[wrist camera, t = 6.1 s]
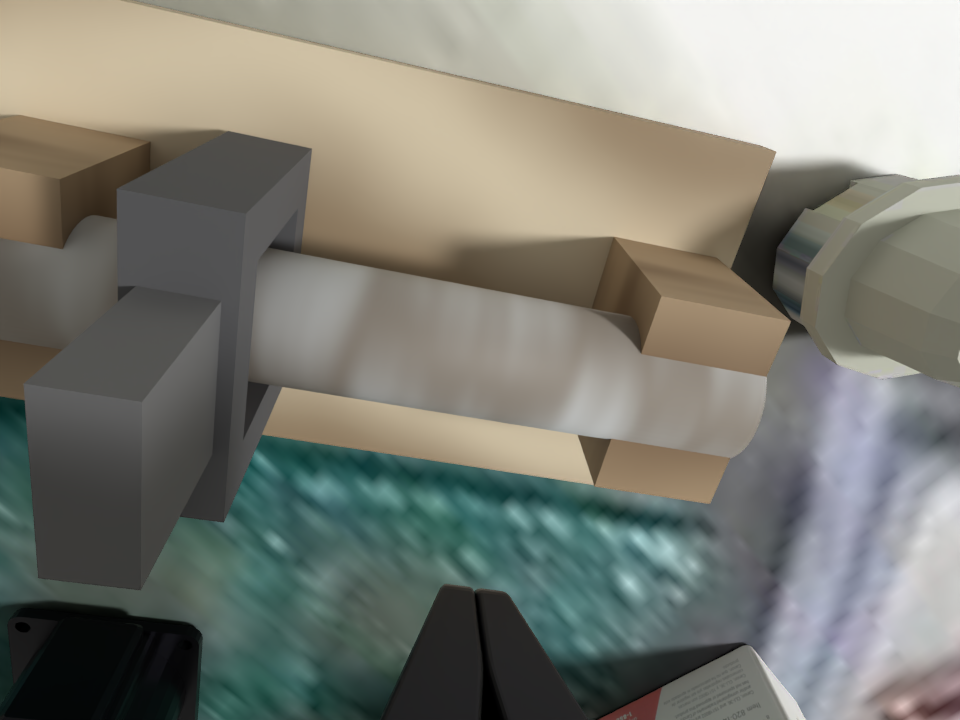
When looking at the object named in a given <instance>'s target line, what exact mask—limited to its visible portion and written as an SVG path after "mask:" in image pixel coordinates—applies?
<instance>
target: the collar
mask: <svg viewBox="0 0 960 720" xmlns="http://www.w3.org/2000/svg"><path fill="white" fill-rule="evenodd" d="M311 154H312V148H307V147H302V146H298V145H293V144H288V143H283V142H279V141H274V140H269V139H264V138H260V137H255V136H250V135H245V134H240V133H236V132H231V131H228V132H226V133H224V134H222V135H220V136H218V137H216V138H214V139H212V140H210V141H208V142H206V143H204V144H202V145H200V146H198V147H197V148H195V149H193V150H191V151H189V152H187V153H185V154H183V155H181V156H179V157H177V158H175V159H173V160H171V161H169V162H167V163H166V164H164V165H162V166H160V167H158V168H156V169H154V170H152V171H150V172H148V173H146V174H144V175H142V176H140V177H138V178H136V179H135V180H133V181H131V182H129V183H127V184H125V185H123V186H121V187H119V188H117V277H118V302H117V303H116V304H115V305H114V306H112V307H111V308H110V309H109V310H108V311H107V312H106V313H104V314H103V315H102V316H101V317H100V318H99V319H97V320H96V321H95V322H94V323H93V324H92V325H91V326H89V327H88V328H87V329H86V330H85V331H84V332H83V333H81V334H80V335H79V336H78V337H77V338H76V339H74V340H73V341H72V342H71V343H70V344H69V345H68V346H66V347H65V348H64V349H63V350H62V351H61V352H59V353H58V354H57V355H56V356H55V357H54V358H53V359H51V360H50V361H49V362H48V363H47V364H46V365H44V366H43V367H42V368H41V369H40V370H39V371H38V372H36V373H35V374H34V375H33V376H32V377H31V378H29V379H28V380H27V381H26V382H25V383H24V397H25V410H26V423H27V437H28V450H29V463H30V476H31V489H32V502H33V516H34V529H35V542H36V555H37V568H38V578H41V579H50V580H58V581H66V582H75V583H83V584H92V585H100V586H109V587H117V588H126V589H134V590H141V589H142V587H143V585H144V583H145V581H146V579H147V577H148V575H149V574H150V572H151V570H152V568H153V566H154V564H155V562H156V560H157V558H158V557H159V555H160V553H161V551H162V549H163V547H164V545H165V543H166V541H167V539H168V538H169V536H170V534H171V532H172V530H173V528H174V526H175V524H176V522H177V521H178V519H179V517H187V518H194V519H202V520H209V521H217V522H224V521H225V518H226V516H227V514H228V511H229V509H230V507H231V504H232V502H233V500H234V497H235V495H236V493H237V491H238V488H239V486H240V484H241V481H242V479H243V477H244V474H245V472H246V470H247V468H248V465H249V463H250V461H251V458H252V456H253V454H254V451H255V449H256V447H257V444H258V442H259V440H260V438H261V435H262V433H263V431H264V428H265V426H266V424H267V421H268V419H269V417H270V415H271V412H272V410H273V408H274V405H275V403H276V401H277V398H278V396H279V394H280V392H281V389H282V387H280V386H274V385H267V384H261V383H255V382H249V381H248V374H249V362H250V350H251V338H252V326H253V314H254V301H255V289H256V277H257V265H258V260H259V258H260V257H261V256H262V254H263V253H264V252H265V251H266V249H267V248H272V249H278V250H283V251H288V252H294V253H299V254H301V246H302V237H303V228H304V218H305V209H306V200H307V191H308V182H309V173H310V164H311Z"/></svg>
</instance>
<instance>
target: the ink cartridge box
mask: <svg viewBox="0 0 960 720" xmlns="http://www.w3.org/2000/svg"><path fill="white" fill-rule="evenodd" d="M599 720H806V719H805V718H804V716H803V714H802V712H801V710H800V708H799V706H798V704H797V703H796V701H795V699H794V698H793V697H792V696H791V695H790V694H789V692H788V691H787V690H786V689H785V688H784V686H783V685H782V684H781V683H780V682H779V680H778V679H777V678H776V677H775V675H774V674H773V673H772V672H771V670H770V669H769V668H768V667H767V665H766V664H765V663H764V662H763V660H762V659H761V658H760V657H759V655H758V654H757V653H756V652H755V650H754V649H753V648H752V647H751V646H749V645H744V646H741V647H739V648H737V649H735V650H734V651H732V652H730V653H728V654H726V655H724V656H722V657H720V658H718V659H716V660H714V661H712V662H710V663H708V664H706V665H704V666H702V667H700V668H698V669H696V670H694V671H692V672H690V673H688V674H686V675H684V676H682V677H681V678H679V679H677V680H675V681H673V682H671V683H669V684H667V685H665V686H663V687H661V688H659V689H657V690H655V691H654V692H651V693H649V694H647V695H645V696H644V697H642V698H640V699H638V700H636V701H634V702H632V703H630V704H628V705H626V706H624V707H622V708H620V709H618V710H616V711H614V712H612V713H610V714H608V715H606V716H604V717H602V718H600V719H599Z"/></svg>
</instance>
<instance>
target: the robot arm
mask: <svg viewBox="0 0 960 720" xmlns="http://www.w3.org/2000/svg"><path fill="white" fill-rule="evenodd" d="M8 635H9V645H10V654H11V664H12V673H13V683H14V685H13V687H12V688H11V690H10V692H9V693H8V695H7V696H6V698H5V699H4V701H3V702H2V704H1V706H0V720H198V705H199V688H200V672H201V656H202V639H203V637H202V634H201V632H200V631H199V630H197V629H196V628H194V627H190V626H182V625H173V624H164V623H155V622H146V621H137V620H128V619H119V618H110V617H102V616H93V615H84V614H75V613H66V612H57V611H48V610H39V609H30V608H22V609H19V610H17V611H16V612H15V613H14V615H13V616H12V617H11V619H10V620H9V621H8ZM186 640H187V641H186ZM380 720H588V718H587V717H586V715H585V713H584V712H583V710H582V709H581V707H580V706H579V704H578V703H577V701H576V699H575V698H574V696H573V695H572V693H571V692H570V690H569V688H568V687H567V685H566V684H565V682H564V681H563V679H562V677H561V676H560V674H559V673H558V671H557V670H556V668H555V666H554V665H553V663H552V662H551V660H550V659H549V657H548V655H547V654H546V652H545V651H544V649H543V648H542V646H541V644H540V643H539V641H538V640H537V638H536V637H535V635H534V633H533V632H532V630H531V629H530V627H529V626H528V624H527V623H526V621H525V619H524V618H523V616H522V615H521V613H520V612H519V610H518V608H517V607H516V605H515V604H514V602H513V601H512V599H511V597H510V596H509V595H508V594H507V593H505V592H503V591H496V590H489V589H477V590H475V592H474V591H473V589H472V588H470V587H465V586H458V585H450V584H445V585H443V586H442V587H441V588H440V590H439V592H438V594H437V596H436V599H435V601H434V603H433V605H432V607H431V609H430V612H429V614H428V616H427V618H426V620H425V622H424V625H423V627H422V629H421V631H420V633H419V635H418V638H417V640H416V642H415V644H414V646H413V648H412V651H411V653H410V655H409V657H408V659H407V661H406V664H405V666H404V668H403V670H402V672H401V674H400V677H399V679H398V681H397V683H396V685H395V687H394V690H393V692H392V694H391V696H390V698H389V700H388V703H387V705H386V707H385V709H384V711H383V713H382V716H381V718H380Z"/></svg>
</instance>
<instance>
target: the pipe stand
mask: <svg viewBox="0 0 960 720" xmlns="http://www.w3.org/2000/svg"><path fill="white" fill-rule="evenodd" d="M228 131H231V132H236V133H240V134H245V135H250V136H255V137H260V138H264V139H269V140H274V141H279V142H283V143H288V144H293V145H298V146H302V147H307V148H312V154H311V164H310V173H309V182H308V191H307V200H306V209H305V218H304V228H303V237H302V246H301V254H299V253H294V252H288V251H283V250H278V249H272V248H267V249H266V251H265V252H264V253H263V254H262V256H261V257H260V258H259V260H258V265H257V277H256V289H255V301H254V314H253V326H252V338H251V350H250V362H249V374H248V381H249V382H255V383H261V384H267V385H274V386H280V387H282V389H281V392H280V394H279V396H278V398H277V401H276V403H275V405H274V408H273V410H272V412H271V415H270V417H269V419H268V421H267V424H266V426H265V428H264V431H263V433H262V435H268V436H275V437H282V438H288V439H295V440H301V441H308V442H314V443H321V444H328V445H334V446H341V447H347V448H354V449H361V450H367V451H374V452H380V453H387V454H393V455H400V456H407V457H413V458H420V459H426V460H433V461H440V462H446V463H453V464H459V465H466V466H473V467H479V468H486V469H492V470H499V471H505V472H512V473H519V474H525V475H532V476H538V477H545V478H552V479H558V480H565V481H571V482H578V483H584V484H591V485H594V486H595V487H602V488H608V489H615V490H622V491H628V492H635V493H641V494H648V495H655V496H661V497H668V498H674V499H681V500H688V501H694V502H701V503H707V504H710V502H711V500H712V498H713V496H714V493H715V491H716V489H717V487H718V484H719V482H720V480H721V478H722V475H723V473H724V471H725V469H726V466H727V464H728V462H729V460H730V458H732V457H734V456H736V455H738V454H739V453H741V452H742V451H743V450H744V449H745V448H746V446H747V445H748V444H749V443H750V441H751V439H752V438H753V436H754V434H755V432H756V430H757V428H758V425H759V423H760V420H761V417H762V413H763V409H764V405H765V399H766V388H767V379H766V377H767V374H768V372H769V370H770V368H771V365H772V363H773V361H774V359H775V356H776V354H777V352H778V350H779V347H780V345H781V343H782V341H783V338H784V336H785V334H786V332H787V329H788V327H789V325H790V323H791V321H790V320H789V319H788V318H787V317H786V316H784V315H783V314H782V313H781V312H780V311H779V310H777V309H776V308H775V307H774V306H773V305H772V304H770V303H769V302H768V301H767V300H766V299H765V298H763V297H762V296H761V295H760V294H759V293H758V292H756V291H755V290H754V289H753V288H752V287H751V286H749V285H748V284H747V283H746V282H745V281H744V280H742V279H741V278H740V277H739V276H738V275H737V274H735V273H734V272H733V271H732V270H731V267H732V264H733V262H734V259H735V256H736V254H737V251H738V249H739V246H740V244H741V241H742V239H743V236H744V233H745V231H746V228H747V226H748V223H749V221H750V218H751V216H752V213H753V210H754V208H755V205H756V203H757V200H758V198H759V195H760V193H761V190H762V187H763V185H764V182H765V180H766V177H767V175H768V172H769V169H770V167H771V164H772V162H773V159H774V157H775V154H776V151H773V150H770V149H768V148H765V147H763V146H760V145H756V144H751V143H747V142H743V141H738V140H734V139H730V138H725V137H721V136H717V135H713V134H708V133H704V132H700V131H695V130H691V129H687V128H682V127H678V126H674V125H669V124H665V123H661V122H656V121H652V120H648V119H643V118H639V117H635V116H630V115H626V114H622V113H617V112H613V111H609V110H604V109H600V108H596V107H591V106H587V105H583V104H579V103H574V102H570V101H566V100H561V99H557V98H553V97H548V96H544V95H540V94H535V93H531V92H527V91H522V90H518V89H514V88H509V87H505V86H501V85H496V84H492V83H488V82H483V81H479V80H475V79H470V78H466V77H462V76H457V75H453V74H449V73H445V72H440V71H436V70H432V69H427V68H423V67H419V66H414V65H410V64H406V63H401V62H397V61H393V60H388V59H384V58H380V57H375V56H371V55H367V54H362V53H358V52H354V51H349V50H345V49H341V48H336V47H332V46H328V45H323V44H319V43H315V42H311V41H306V40H302V39H298V38H293V37H289V36H285V35H280V34H276V33H272V32H267V31H263V30H259V29H254V28H250V27H246V26H241V25H237V24H233V23H228V22H224V21H220V20H215V19H211V18H207V17H202V16H198V15H194V14H189V13H185V12H181V11H177V10H172V9H168V8H164V7H159V6H155V5H151V4H146V3H142V2H138V1H133V0H0V396H1V397H8V398H15V399H21V400H25V397H24V383H25V382H26V381H27V380H28V379H29V378H31V377H32V376H33V375H34V374H35V373H36V372H38V371H39V370H40V369H41V368H42V367H43V366H44V365H46V364H47V363H48V362H49V361H50V360H51V359H53V358H54V357H55V356H56V355H57V354H58V353H59V352H61V351H62V350H63V349H64V348H65V347H66V346H68V345H69V344H70V343H71V342H72V341H73V340H74V339H76V338H77V337H78V336H79V335H80V334H81V333H83V332H84V331H85V330H86V329H87V328H88V327H89V326H91V325H92V324H93V323H94V322H95V321H96V320H97V319H99V318H100V317H101V316H102V315H103V314H104V313H106V312H107V311H108V310H109V309H110V308H111V307H112V306H114V305H115V304H116V303H117V302H118V277H117V188H119V187H121V186H123V185H125V184H127V183H129V182H131V181H133V180H135V179H136V178H138V177H140V176H142V175H144V174H146V173H148V172H150V171H152V170H154V169H156V168H158V167H160V166H162V165H164V164H166V163H167V162H169V161H171V160H173V159H175V158H177V157H179V156H181V155H183V154H185V153H187V152H189V151H191V150H193V149H195V148H197V147H198V146H200V145H202V144H204V143H206V142H208V141H210V140H212V139H214V138H216V137H218V136H220V135H222V134H224V133H226V132H228Z"/></svg>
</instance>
